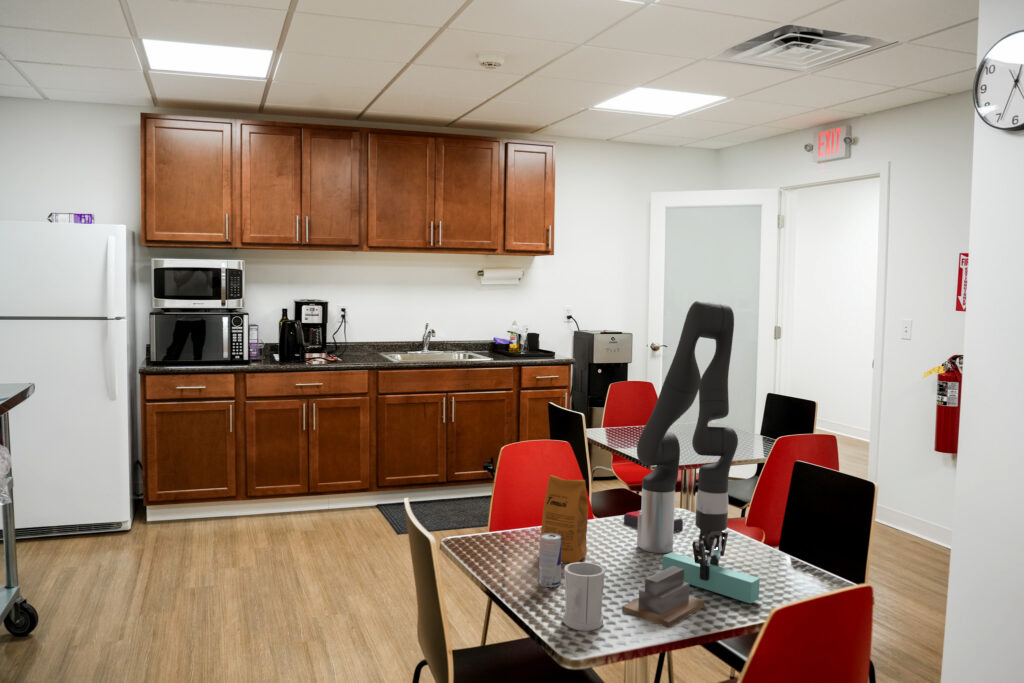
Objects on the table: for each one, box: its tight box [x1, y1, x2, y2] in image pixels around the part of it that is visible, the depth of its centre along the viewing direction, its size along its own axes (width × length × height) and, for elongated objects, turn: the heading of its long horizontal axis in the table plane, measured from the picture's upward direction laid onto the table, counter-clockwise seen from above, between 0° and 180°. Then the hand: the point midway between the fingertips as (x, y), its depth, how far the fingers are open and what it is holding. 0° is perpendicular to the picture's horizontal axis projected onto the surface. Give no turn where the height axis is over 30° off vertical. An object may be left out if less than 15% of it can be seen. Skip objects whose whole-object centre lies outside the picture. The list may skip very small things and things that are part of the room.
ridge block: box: [621, 566, 706, 628], centre depth 176 cm, size 12×16×8 cm
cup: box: [562, 561, 606, 632], centre depth 166 cm, size 10×9×12 cm
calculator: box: [623, 509, 684, 532], centre depth 240 cm, size 11×4×15 cm
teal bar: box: [661, 551, 761, 604], centre depth 188 cm, size 24×4×5 cm, turn 46°
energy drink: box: [538, 533, 562, 589], centre depth 189 cm, size 5×5×12 cm
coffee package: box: [540, 474, 589, 564], centre depth 209 cm, size 10×12×22 cm
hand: (708, 577), depth 188 cm, fingers closed on teal bar, 4 cm apart
